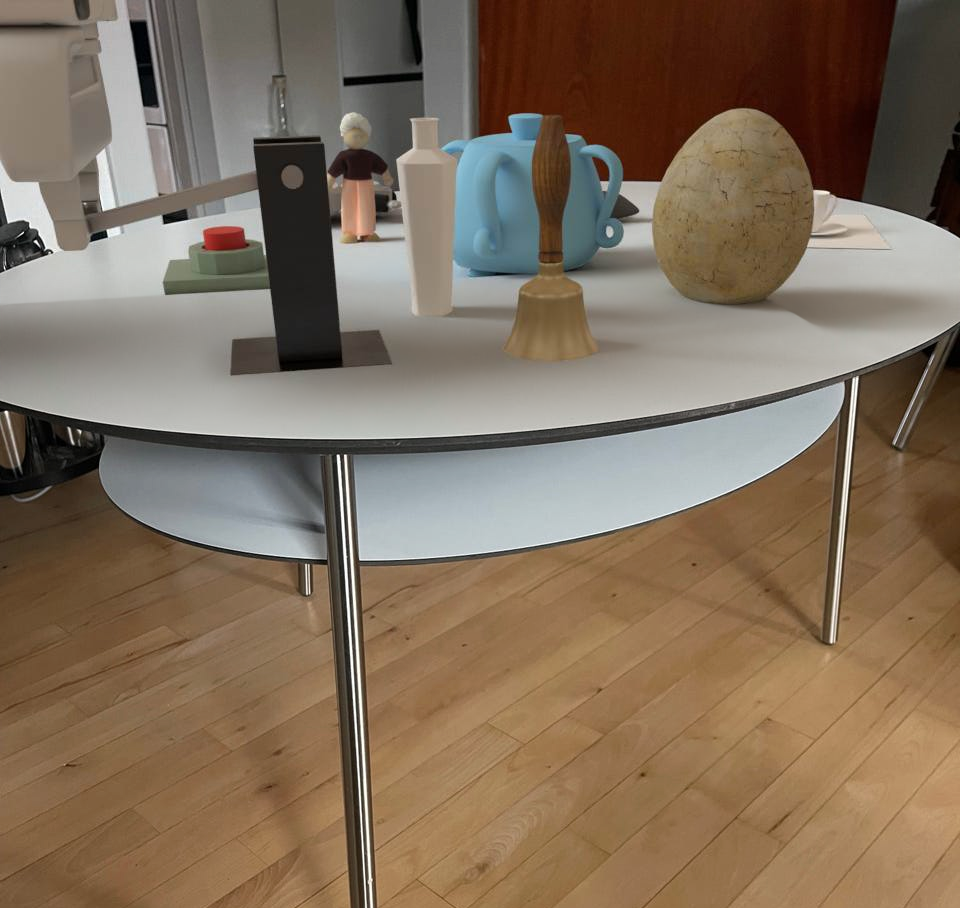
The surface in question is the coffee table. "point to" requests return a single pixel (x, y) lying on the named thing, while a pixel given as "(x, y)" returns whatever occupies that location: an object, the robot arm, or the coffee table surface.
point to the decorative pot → (527, 202)
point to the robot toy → (383, 199)
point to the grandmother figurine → (357, 180)
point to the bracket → (300, 268)
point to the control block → (218, 270)
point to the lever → (170, 202)
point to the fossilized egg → (733, 210)
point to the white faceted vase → (428, 218)
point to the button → (224, 238)
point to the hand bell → (551, 265)
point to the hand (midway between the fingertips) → (82, 239)
